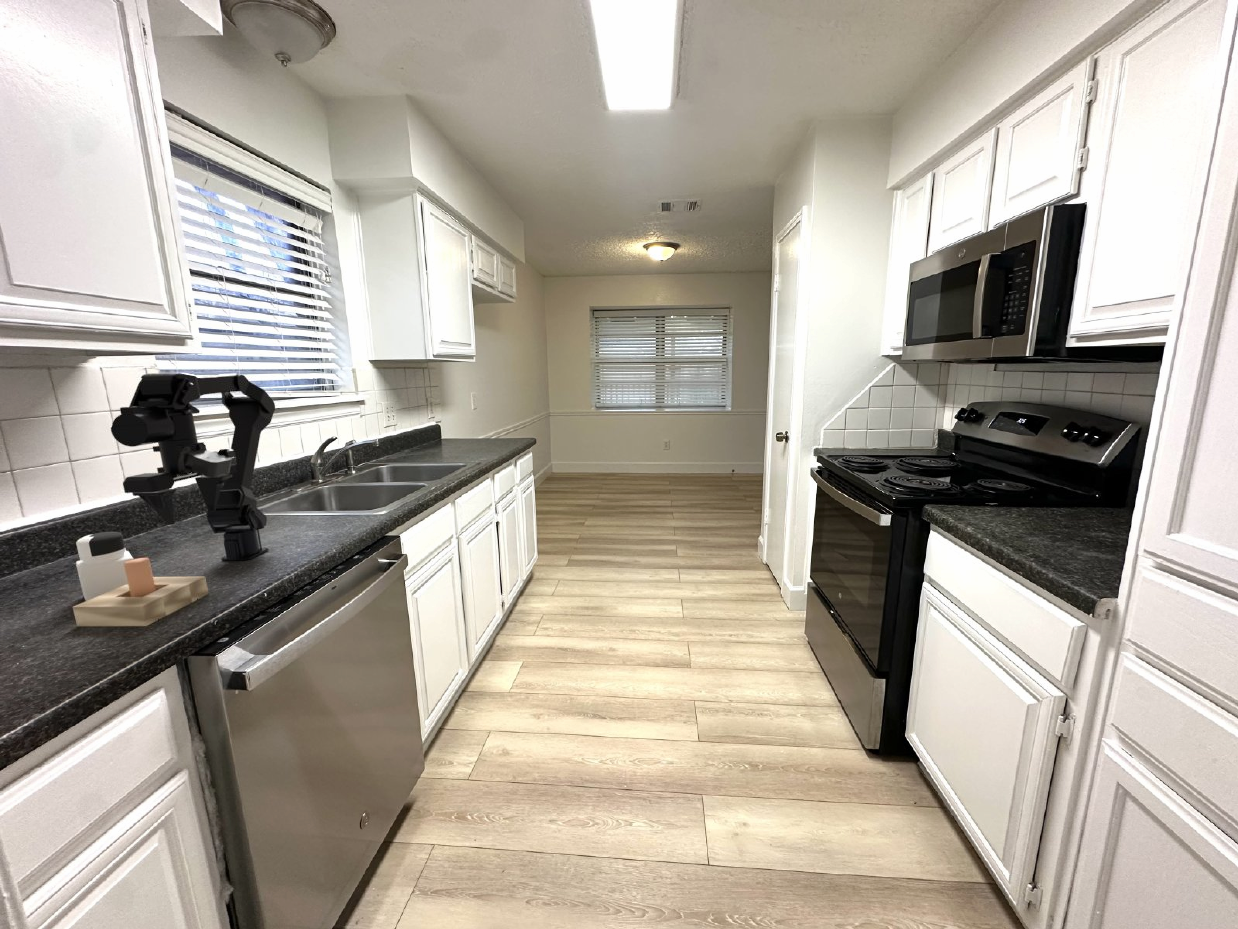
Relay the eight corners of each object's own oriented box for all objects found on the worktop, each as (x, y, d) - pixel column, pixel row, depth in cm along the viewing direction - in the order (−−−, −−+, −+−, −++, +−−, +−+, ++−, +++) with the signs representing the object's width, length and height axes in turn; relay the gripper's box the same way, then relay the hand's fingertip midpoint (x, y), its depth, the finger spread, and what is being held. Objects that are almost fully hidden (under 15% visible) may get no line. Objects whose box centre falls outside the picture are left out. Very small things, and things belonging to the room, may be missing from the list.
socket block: (147, 594, 94) (144, 577, 93) (208, 593, 93) (205, 576, 93) (77, 626, 82) (72, 606, 81) (146, 626, 82) (142, 606, 81)
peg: (147, 605, 89) (136, 557, 88) (164, 604, 89) (154, 557, 88) (129, 613, 86) (118, 564, 85) (146, 613, 86) (136, 564, 84)
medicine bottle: (135, 583, 99) (122, 526, 97) (141, 593, 95) (128, 533, 92) (83, 596, 94) (69, 536, 92) (87, 607, 89) (72, 543, 87)
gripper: (172, 445, 86) (189, 531, 89) (255, 432, 104) (266, 504, 107) (111, 446, 86) (130, 532, 89) (204, 433, 105) (217, 505, 107)
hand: (192, 517), depth 98 cm, fingers open, 9 cm apart
